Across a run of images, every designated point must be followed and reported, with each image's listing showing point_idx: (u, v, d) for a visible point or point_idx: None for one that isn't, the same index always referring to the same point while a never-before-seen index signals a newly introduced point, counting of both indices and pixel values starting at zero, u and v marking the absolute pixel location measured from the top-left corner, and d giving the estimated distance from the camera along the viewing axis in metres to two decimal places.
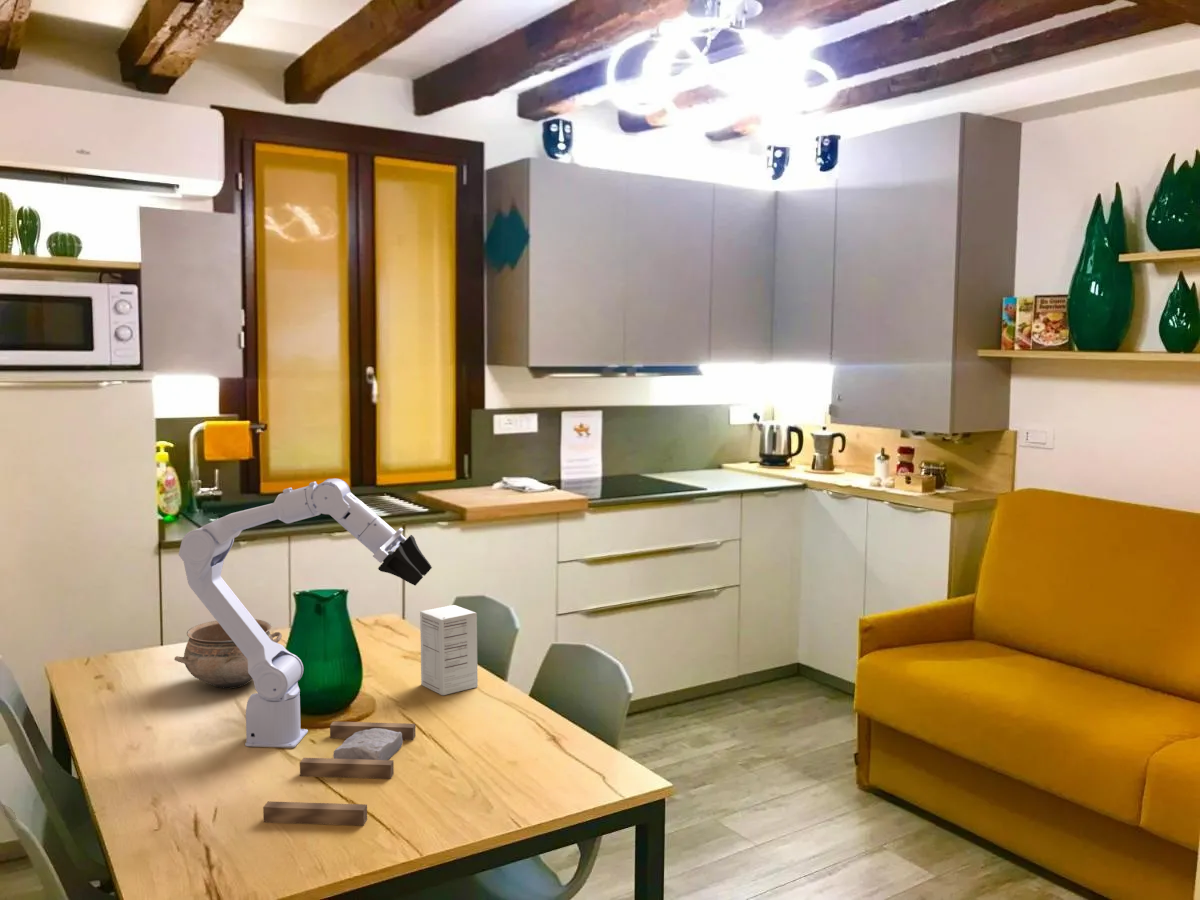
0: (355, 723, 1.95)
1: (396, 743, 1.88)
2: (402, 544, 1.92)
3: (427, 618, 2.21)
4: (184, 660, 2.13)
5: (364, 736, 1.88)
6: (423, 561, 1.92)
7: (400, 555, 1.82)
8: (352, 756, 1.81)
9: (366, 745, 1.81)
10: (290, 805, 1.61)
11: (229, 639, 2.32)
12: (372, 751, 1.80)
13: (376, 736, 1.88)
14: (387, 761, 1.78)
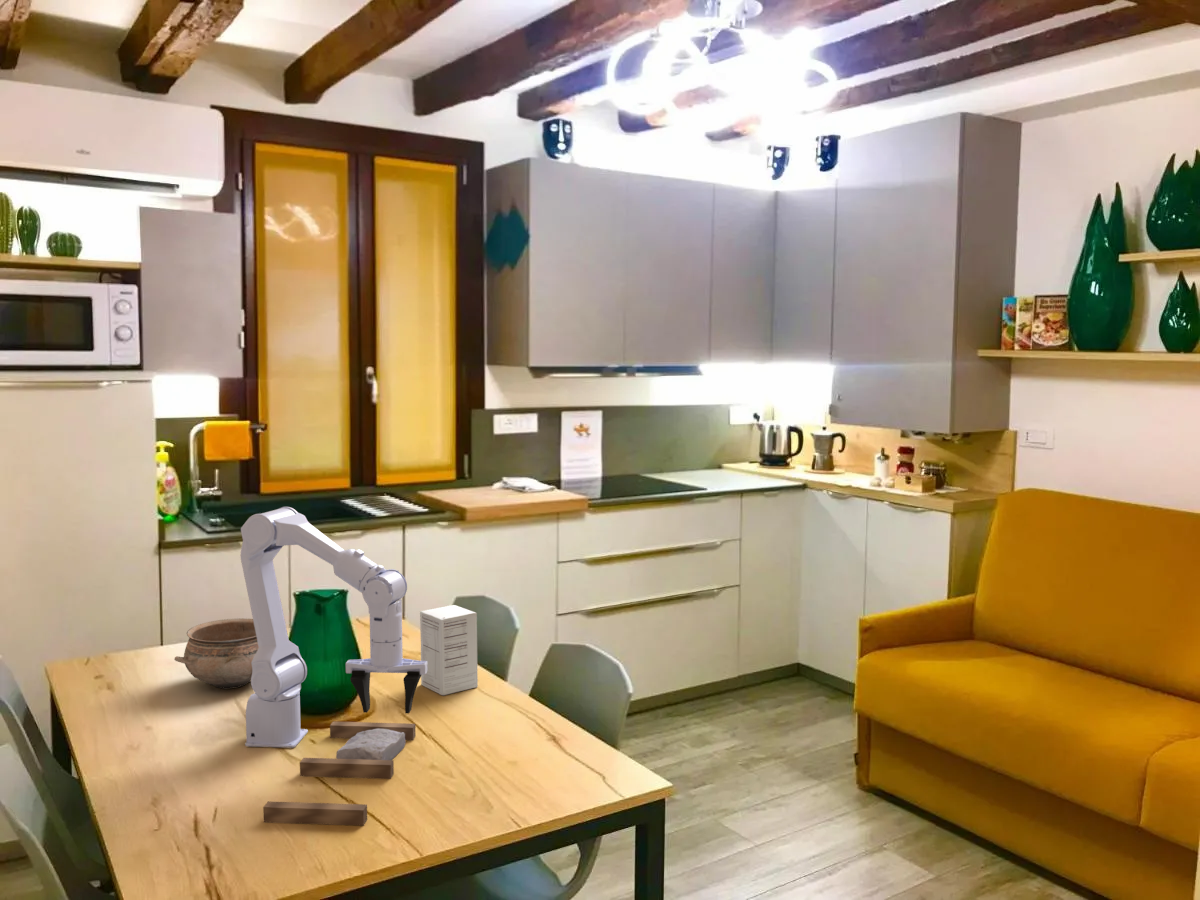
0: (355, 723, 1.95)
1: (399, 744, 1.88)
2: None
3: (427, 618, 2.21)
4: (184, 660, 2.13)
5: (367, 736, 1.88)
6: None
7: None
8: (355, 756, 1.81)
9: (369, 745, 1.81)
10: (290, 805, 1.61)
11: (229, 639, 2.32)
12: (375, 752, 1.80)
13: (379, 736, 1.87)
14: (387, 761, 1.78)
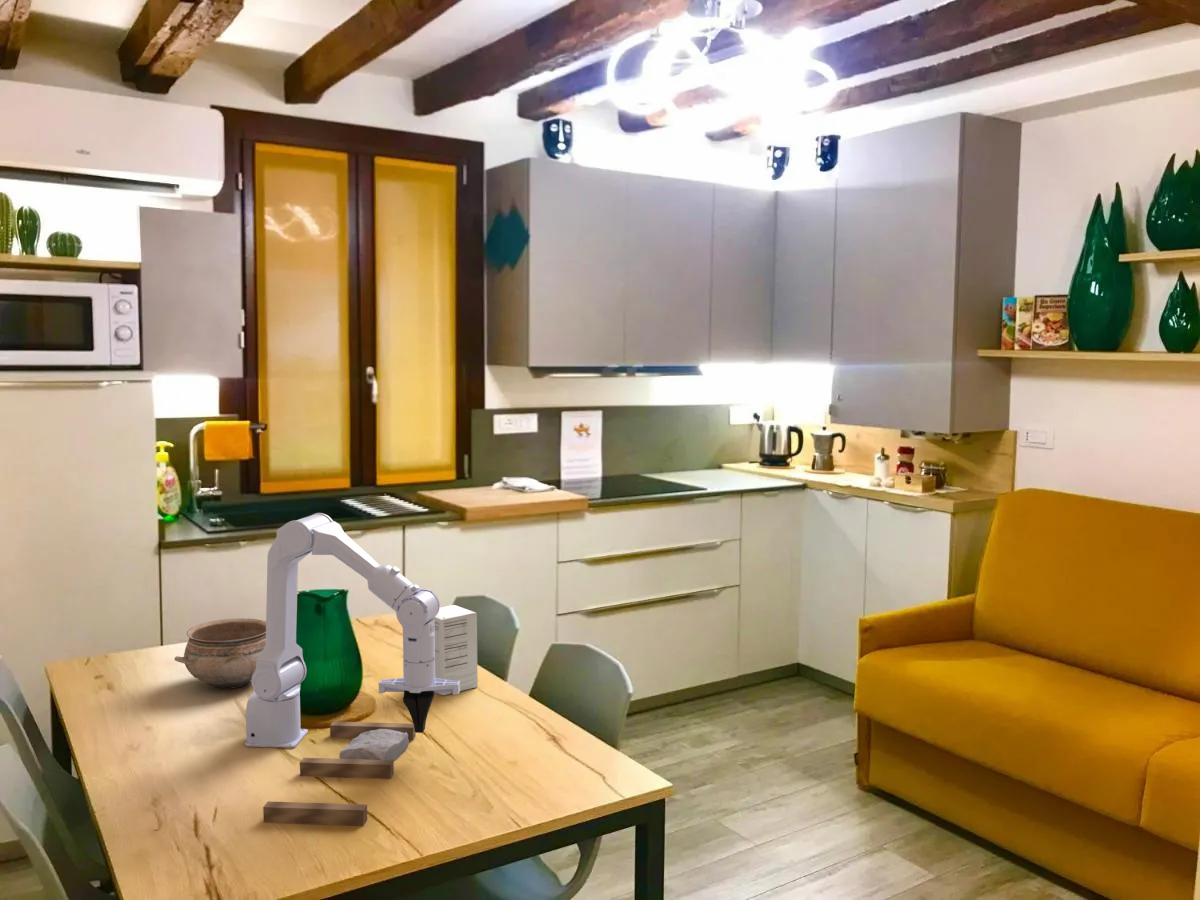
0: (355, 723, 1.95)
1: (402, 744, 1.87)
2: None
3: None
4: (184, 660, 2.13)
5: (370, 737, 1.87)
6: None
7: (405, 704, 1.83)
8: (358, 756, 1.81)
9: (373, 745, 1.81)
10: (290, 805, 1.61)
11: (229, 639, 2.32)
12: (378, 752, 1.80)
13: (382, 737, 1.87)
14: (387, 761, 1.78)
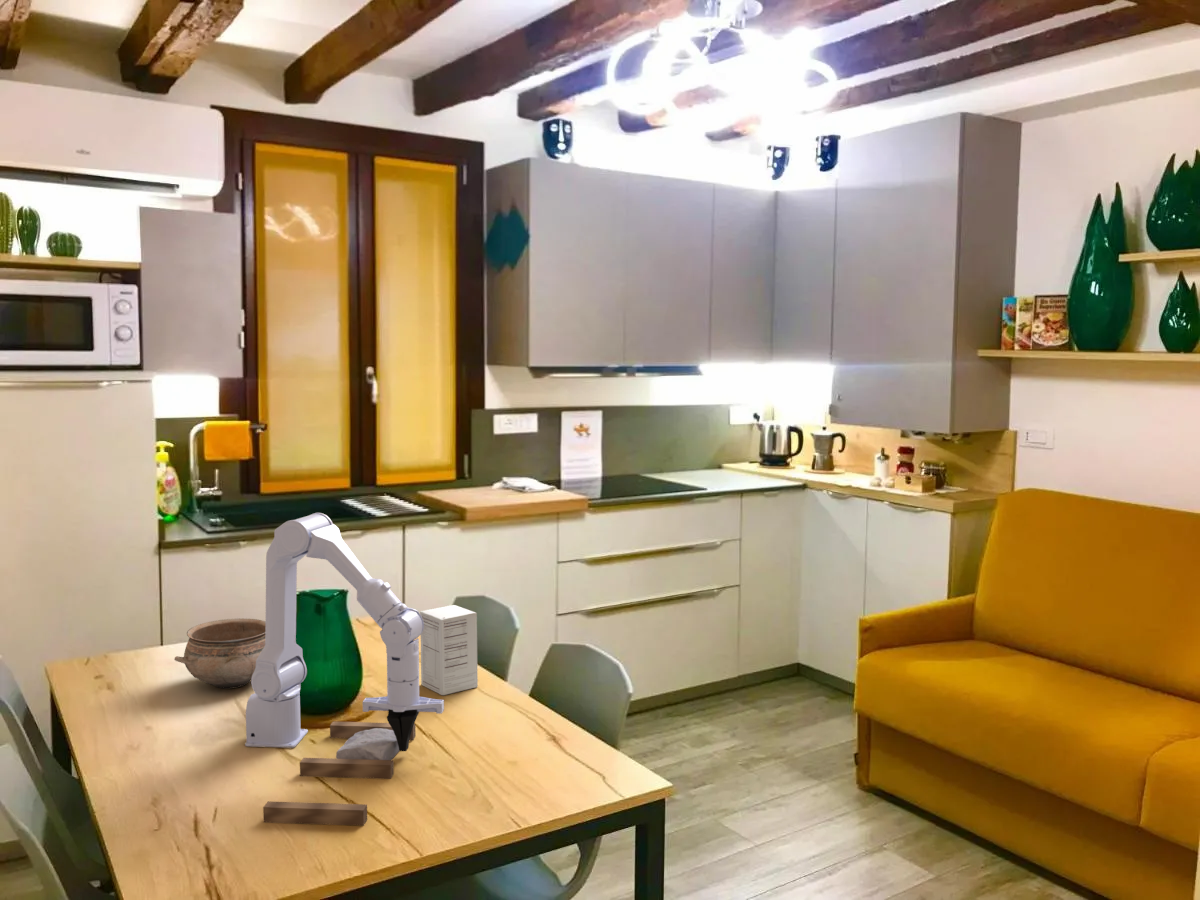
0: (355, 723, 1.95)
1: None
2: None
3: (427, 618, 2.21)
4: (184, 660, 2.13)
5: (366, 736, 1.87)
6: None
7: (389, 723, 1.84)
8: (356, 756, 1.81)
9: (370, 745, 1.81)
10: (290, 805, 1.61)
11: (229, 639, 2.32)
12: (376, 751, 1.80)
13: (378, 736, 1.87)
14: (387, 761, 1.78)
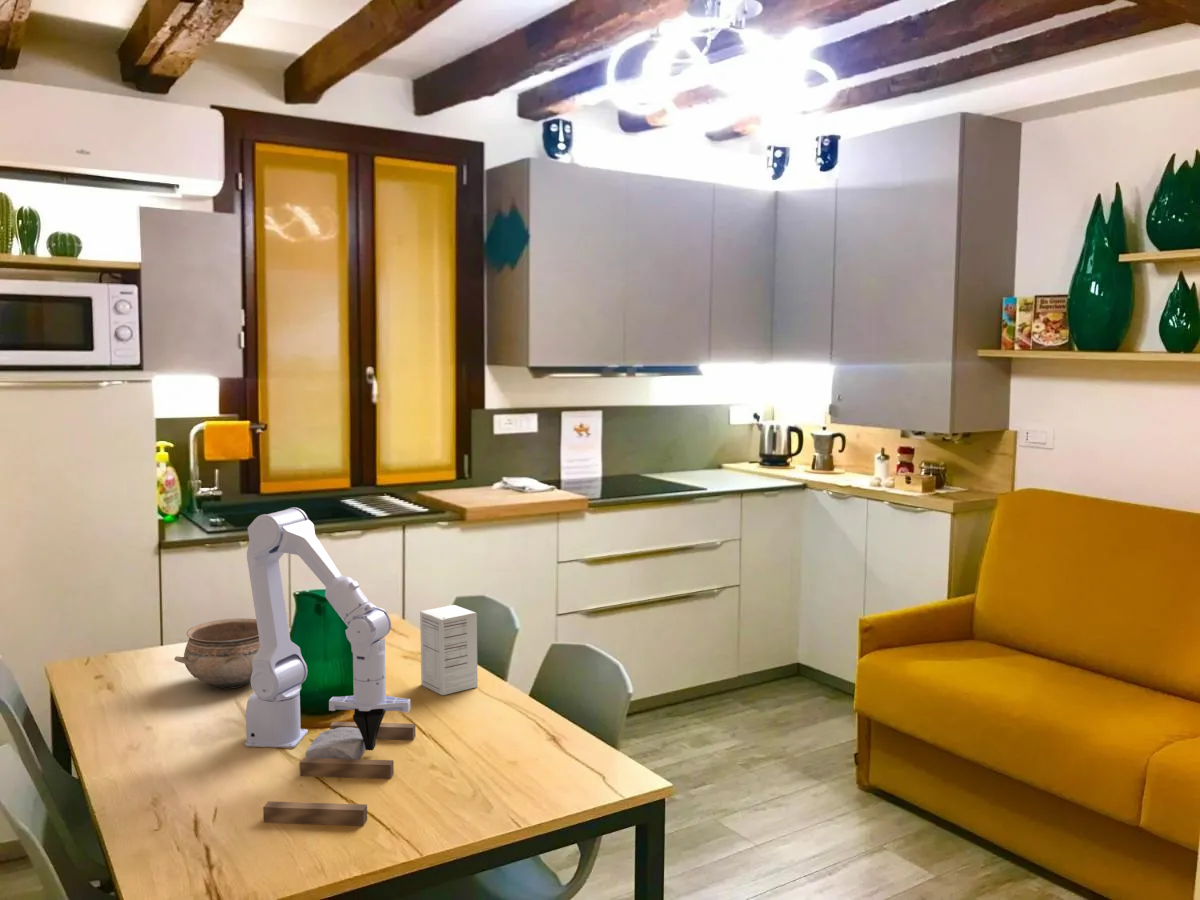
0: (355, 723, 1.95)
1: None
2: None
3: (427, 618, 2.21)
4: (184, 660, 2.13)
5: (333, 735, 1.87)
6: None
7: (355, 722, 1.84)
8: (326, 755, 1.81)
9: (341, 743, 1.81)
10: (290, 805, 1.61)
11: (229, 639, 2.32)
12: (348, 749, 1.81)
13: (345, 735, 1.88)
14: (387, 761, 1.78)
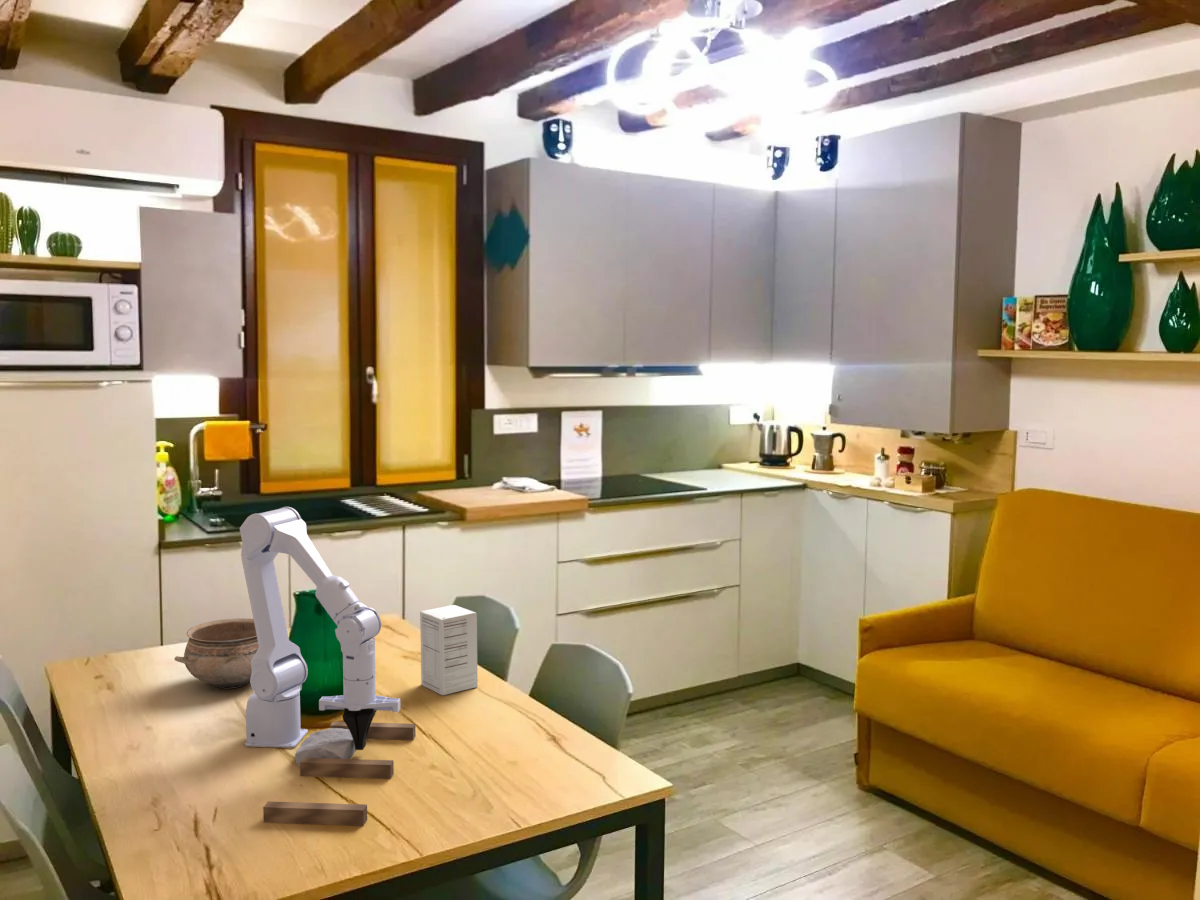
0: None
1: None
2: None
3: (427, 618, 2.21)
4: (184, 660, 2.13)
5: (323, 736, 1.87)
6: None
7: (345, 721, 1.84)
8: (316, 756, 1.81)
9: (330, 744, 1.81)
10: (290, 805, 1.61)
11: (229, 639, 2.32)
12: (337, 750, 1.81)
13: (335, 736, 1.88)
14: (387, 761, 1.78)
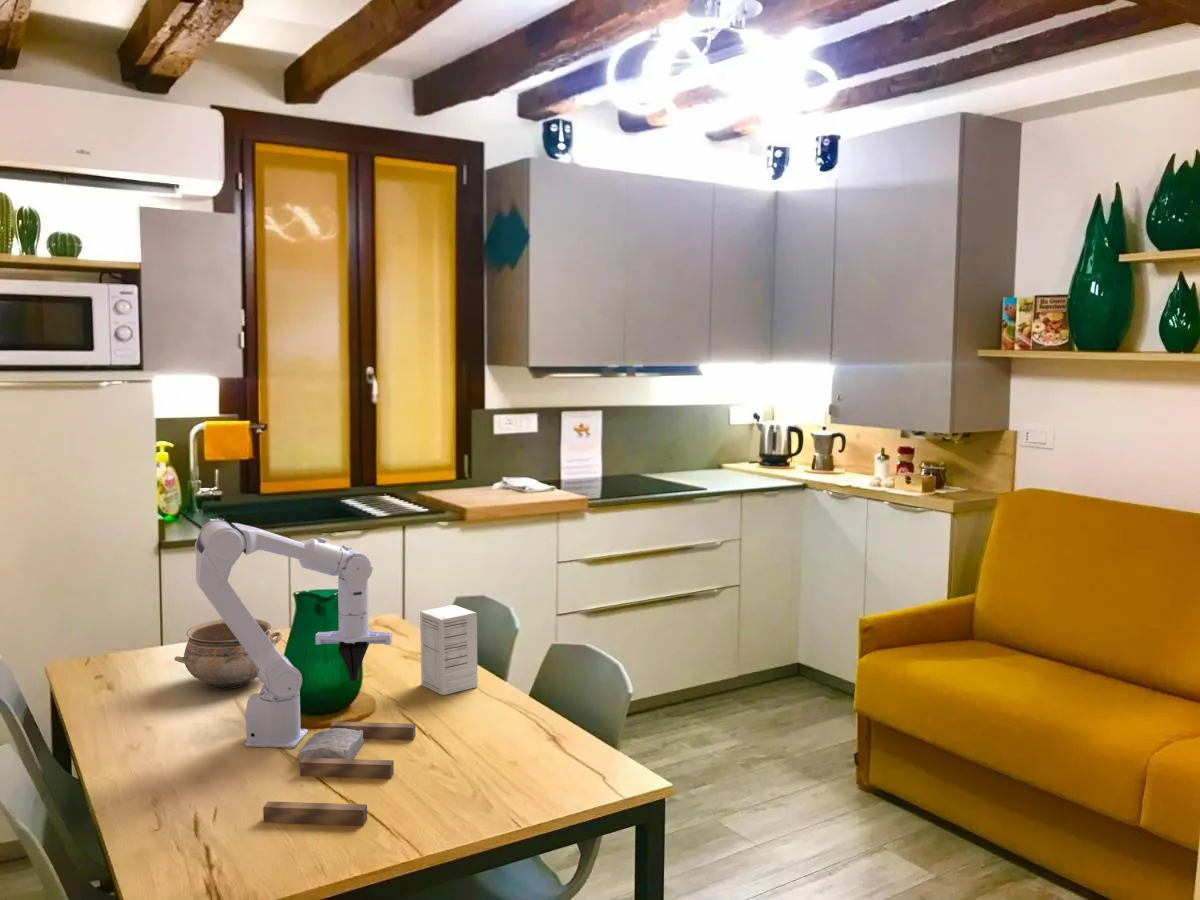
0: (355, 723, 1.95)
1: (359, 742, 1.88)
2: None
3: (427, 618, 2.21)
4: (184, 660, 2.13)
5: (326, 736, 1.87)
6: None
7: (340, 654, 1.97)
8: (319, 756, 1.81)
9: (334, 744, 1.81)
10: (290, 805, 1.61)
11: (229, 639, 2.32)
12: (341, 750, 1.81)
13: (338, 736, 1.88)
14: (387, 761, 1.78)
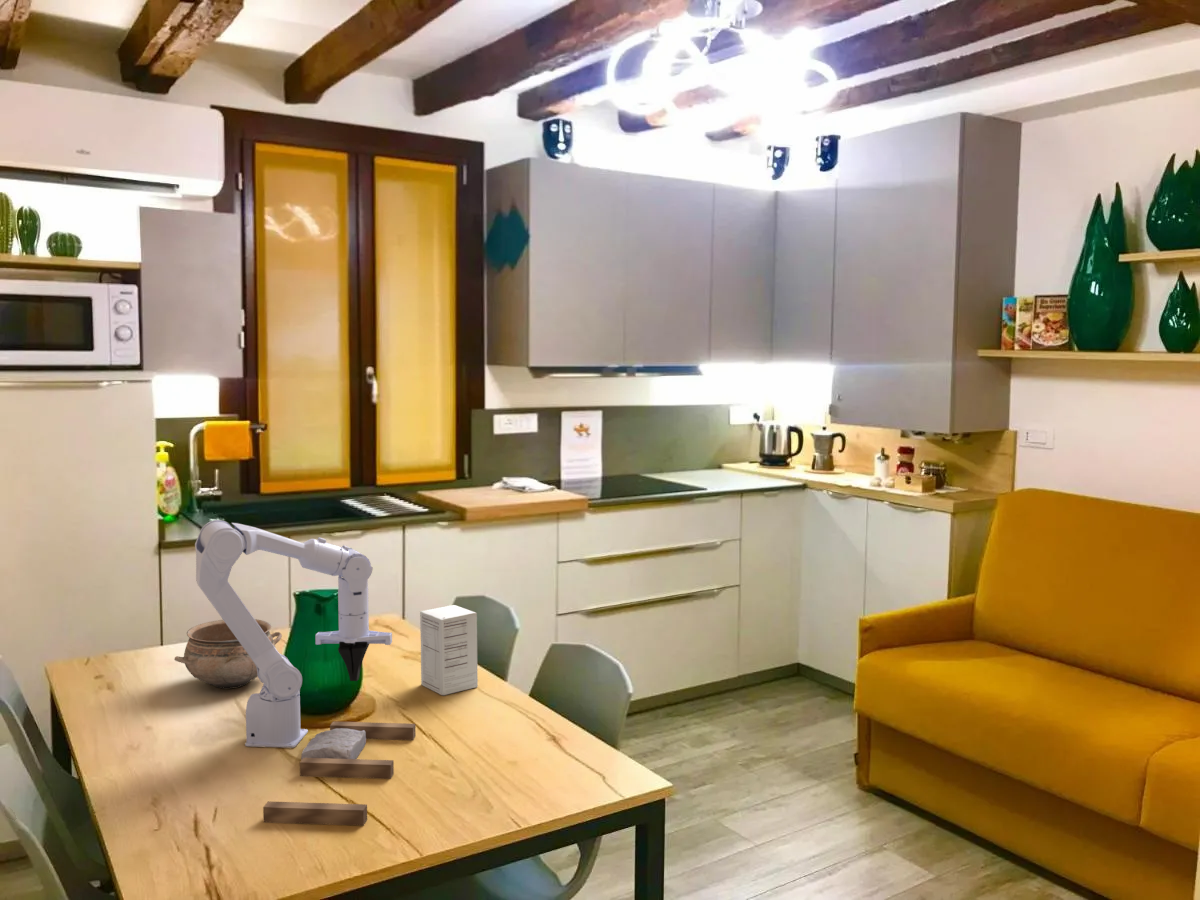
0: (355, 723, 1.95)
1: (362, 742, 1.88)
2: None
3: (427, 618, 2.21)
4: (184, 660, 2.13)
5: (329, 737, 1.87)
6: None
7: (340, 654, 1.97)
8: (322, 756, 1.81)
9: (337, 744, 1.81)
10: (290, 805, 1.61)
11: (229, 639, 2.32)
12: (344, 750, 1.81)
13: (341, 736, 1.88)
14: (387, 761, 1.78)
